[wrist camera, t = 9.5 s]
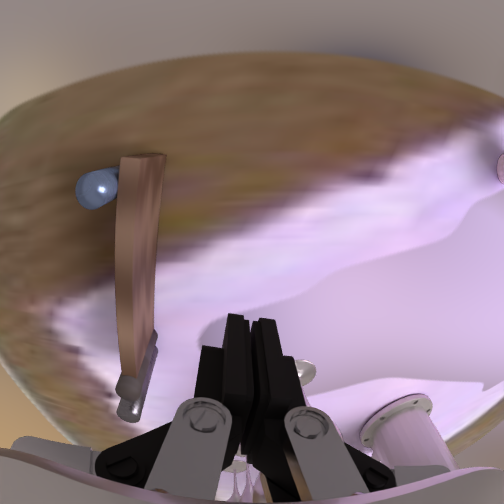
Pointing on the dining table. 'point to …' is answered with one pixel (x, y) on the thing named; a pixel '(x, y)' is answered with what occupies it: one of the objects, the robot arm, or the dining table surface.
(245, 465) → the goblet set
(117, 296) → the gate
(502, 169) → the smoothie
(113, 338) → the dining table surface
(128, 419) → the grey upright cylinders
